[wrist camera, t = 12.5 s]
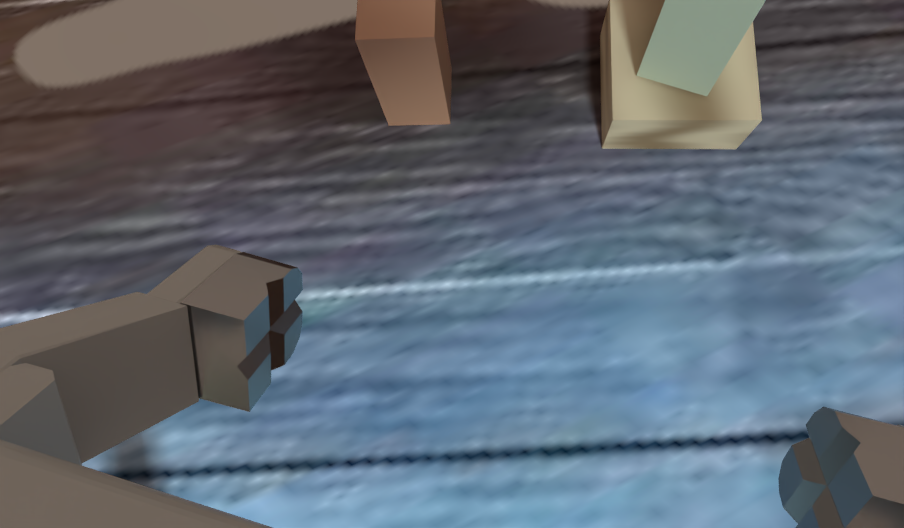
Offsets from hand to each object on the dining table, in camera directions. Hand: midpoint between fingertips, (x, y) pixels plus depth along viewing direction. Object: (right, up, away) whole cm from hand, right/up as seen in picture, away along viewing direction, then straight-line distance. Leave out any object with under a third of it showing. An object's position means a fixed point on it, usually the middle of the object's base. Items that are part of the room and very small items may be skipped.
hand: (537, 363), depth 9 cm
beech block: (+12, +12, +28) cm, 33 cm away
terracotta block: (-3, +12, +29) cm, 32 cm away
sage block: (+12, +13, +24) cm, 30 cm away
